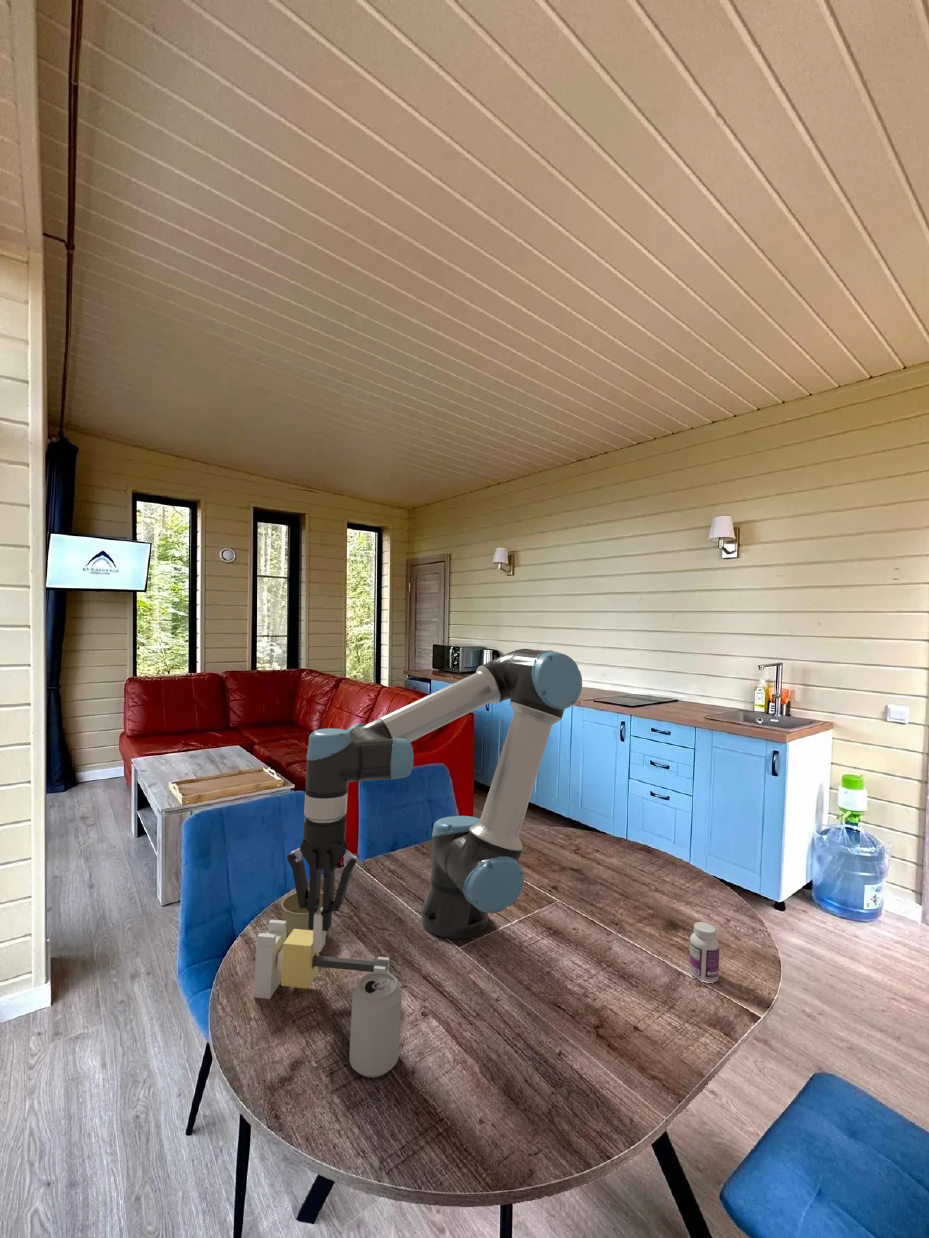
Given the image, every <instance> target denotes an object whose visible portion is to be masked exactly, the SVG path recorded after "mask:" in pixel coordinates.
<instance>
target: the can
mask: <svg viewBox="0 0 929 1238" xmlns="http://www.w3.org/2000/svg"><path fill="white" fill-rule="evenodd" d="M351 995H352V997H351V1017H350V1033H349V1034H350V1035H349V1036H350V1037H349V1038H350V1039H349V1055H348V1056H349V1064H350V1066H351V1068H352V1069H353V1070H354V1071H355V1072H356V1073H358V1074H360V1075H361V1076H363V1077H365V1078H377V1077H378V1078H379V1077H381V1076H385V1074H386V1073H388V1072H389V1071H390V1070H392V1069H393V1068H394V1067H395V1066H396V1064H397V1062H398V1061H399V1057H400V1041H401V1019H402V1018H401V1017H402V1000H403V999H402V998H403V997H402V995H403V992H402V988H401V987H400V986H399V981H398V979H397V977H396V976H394V975H393V974H392V973H390V972H389V973H387V972H382V971H377V972H368V973H366V974H365V975H362V976H361V977H360V978H359V980H358V981H357V984H356V987H355V988H354V990H353V991H352V994H351Z"/></svg>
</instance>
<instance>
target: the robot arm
mask: <svg viewBox="0 0 929 1238" xmlns="http://www.w3.org/2000/svg"><path fill="white" fill-rule="evenodd" d="M581 673H582V672H581V671H580V668H579V665H578V664H577V663H576V661H575V660H574V659H572V657H570V656H569V655H568V654H565V653H562V652H558V651H554V650H552V649H550V650H540V649H531V648H519V649H515V650H513V651H509V652H507V653H505V654H503V655H500V656H499V657H496V658H494V659H492V660H490V661H488V662H485V663H483V664H482V665H479V666H478V667H477V668H476V671H475V673H472V674H471V675H469V676H466V677H465V678H463V679H460V680H457V681H456V682H454V683H452V684H450V685H447V686H445V687H443V688H441V689H439V690H436V691H434V692H433V693H430V694H428V695H425V696H424V697H422V698H420V699H418V700H416V701H413V702H412V703H410V704H407V705H405V706H403V707H401V708H398V709H396V710H395V711H393V712H390V713H388V714H386V715H384V716H382V717H380V718H377V719H375V720H373V721H371V722H369V723H355V724H353V725H351V726H350V727H348V729H343V728H332V727H331V728H330V727H329V728H320V729H316V730H314V731H312V732H311V733H310V734H309V737H308V743H307V744H308V745H307V754H306V766H305V767H306V771H305V774H306V775H305V793H304V794H305V795H304V809H303V815H304V816H305V817H304V819H303V827H302V828H303V830H302V842H300V846H299V847H298V848H297V849H296V848H294V849H293V850H291V852H290V853H289V854H288V855H287V856H286V860H287V861H288V863H289V865H290V866H291V870H292V875H293V880H294V887H295V888H294V889H295V893H297V899H298V904H299V907H300V908H301V909H303V908H305V909H307V910H308V911H309V924H308V927H309V930H313V945H312V951H316V952H319V953H321V951H322V950H323V948H324V947H325V944H326V936H327V935H326V934H327V932H328V931H329V930H330V928H331V926H332V921H333V920H332V918H333V917H332V916H333V912H334V913H335V912H336V913H337V912H338V911H339V910H340V908H341V906H342V905H343V903H344V900H345V897H346V893H347V889H348V886H349V882H350V878H351V875H352V873H353V868H354V867H355V865H356V864H357V862H358V861H359V859H360V856H359V854H358V853H352V852H351V851H350V850H348V845H347V843H346V836H347V835H346V834H347V833H346V831H347V817H346V814H347V812H348V811H347V810H348V796H349V795H348V791H349V788H348V787H349V783H351V782H365V781H366V782H367V781H369V782H370V781H381V780H386V781H387V780H390V781H391V780H392V781H394V780H397V779H403V778H406V777H408V776H410V774H411V773H412V770H413V767H414V748H413V745H412V742H413V741H416V740H417V739H419V738H421V737H423V736H425V735H427V734H430V733H431V732H434V731H436V730H437V729H439V728H442V727H444V726H446V725H448V724H450V723H451V722H453V721H455V720H457V719H459V718H461V717H464V716H466V715H468V714H469V713H472V712H473V711H475V710H477V709H479V708H481V707H483V706H486V705H488V704H490V703H491V704H493V705H498V704H500V703H502V702H503V701H507V700H509V705H510V707H511V710H512V711H513V712H512V713H513V714H512V717H511V720H510V724H509V727H508V730H507V733H506V736H505V739H504V742H503V746H502V749H501V753H500V754H499V755H500V756H499V759H498V761H497V765H496V768H495V771H494V773H493V778H492V781H491V785H490V788H489V791H488V793H487V796H486V799H485V803H484V806H483V809H482V813H481V816H480V818H479V817H475V816H469V815H451V816H446V817H442V818H440V819H437V820H436V821H435V822H434V824H433V828H432V834H431V837H432V838H431V839H432V840H431V841H432V842H431V864H430V865H431V867H430V868H431V869H430V886H429V889H428V891H427V894H426V896H425V900H424V902H423V905H422V907H421V918H420V919H421V924H422V926H423V928H424V929H426V931H427V932H429V933H431V934H432V935H434V936H437V937H439V938H445V939H454V940H458V939H459V940H460V939H462V940H463V939H469V938H472V937H476V936H478V935H479V934H481V933H482V932H484V931H485V930H486V928H487V926H488V920H489V919H488V918H489V917H488V916H489V914H495V913H500V912H502V911H504V910H506V908H508V907H511V906H512V905H513V904H514V903H515V902H516V901H517V900H518V898H519V897H520V895H521V894H522V891H523V888H524V885H525V874H524V872H523V868H522V866H521V864H520V863H519V862H520V858H521V855H522V852H523V844H522V842H521V840H520V838H519V835H520V834H521V833H520V832H521V829H522V826H523V823H524V820H525V816H526V813H527V809H528V806H529V802H530V799H531V797H532V793H533V790H534V787H535V786H534V785H535V783H536V780H537V777H538V773H539V770H540V767H541V763H542V761H543V758H544V757H543V756H544V754H545V750H546V746H547V744H548V740H549V737H550V733H551V730H552V727H553V726H554V725H556V723H559V722H560V721H562V718H563V715H564V712H565V710H566V709H568V708H570V707H572V705H574V704H576V703H577V702H578V699H579V698H580V696H581V693H582V690H583V676H582V674H581ZM304 859H305V861H306V862H307V864H308V866H309V871H308V872H309V885H308V878H307V875H306V874H307V873H306V869H305V863H304ZM342 859H343V863H342V864H343V865H344V868H343V870H342V874H341V876H340V880H339V883H338V885H337V886H338V887H337V890H336V894H335V893H334V892H335V872H336V868H337V865H338V863H340V861H341V860H342ZM322 871H323V872H322ZM322 875H323V885H322V886H323V890H322V893H323V907H319V908H318V906H319V904H320V903H321V901H320V892H321V881H322ZM334 895H335V896H334Z"/></svg>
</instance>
